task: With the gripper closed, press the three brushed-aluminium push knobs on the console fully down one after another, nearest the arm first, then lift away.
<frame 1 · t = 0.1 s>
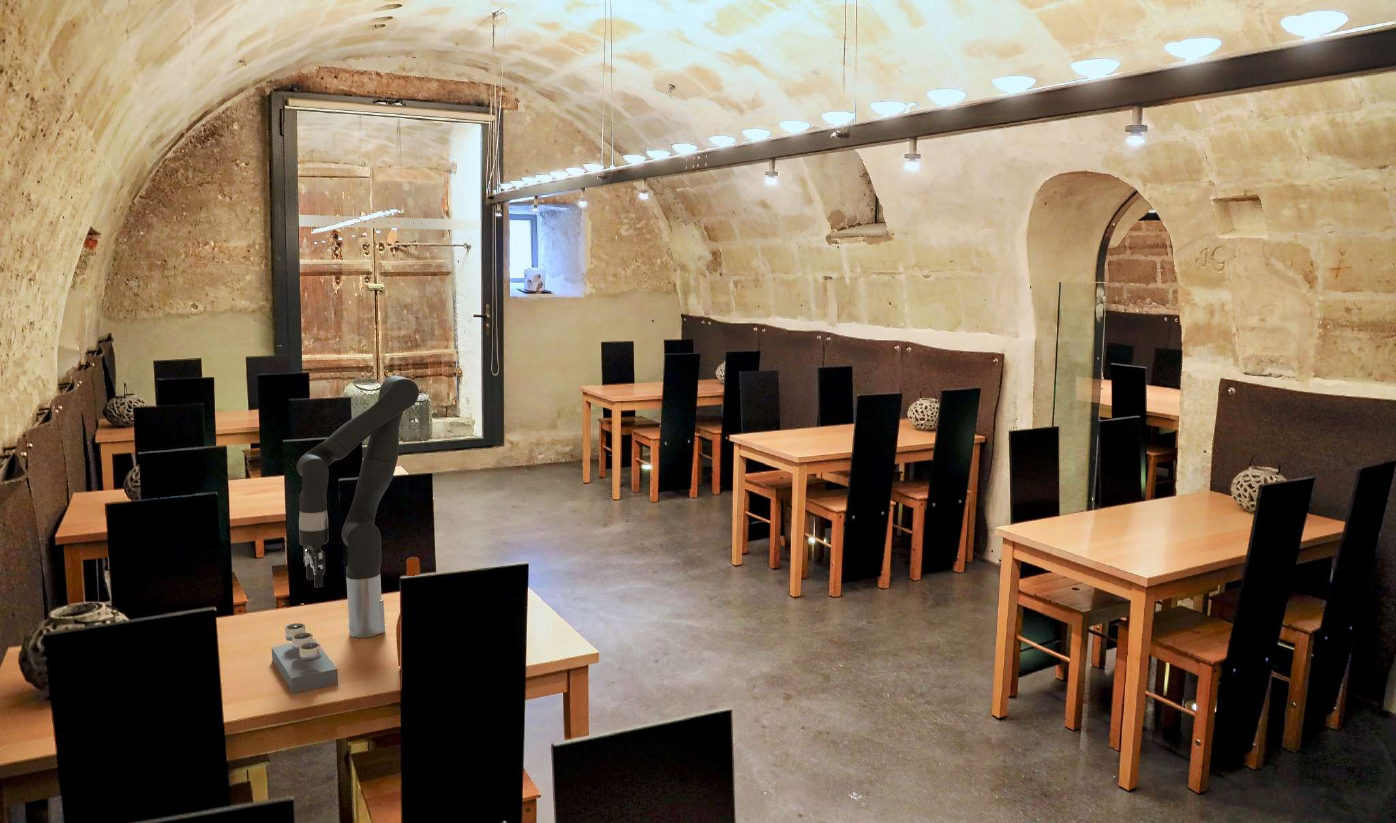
hand: (314, 583, 286), 17 cm above the table, tool pointing down, fingers open, 8 cm apart
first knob: (295, 631, 273), point 8 cm above the table, slide at 0.0 cm
console: (304, 672, 267), on the table
wine bottle: (417, 668, 270), on the table
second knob: (302, 641, 266), point 8 cm above the table, slide at 0.0 cm
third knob: (310, 651, 259), point 8 cm above the table, slide at 0.0 cm
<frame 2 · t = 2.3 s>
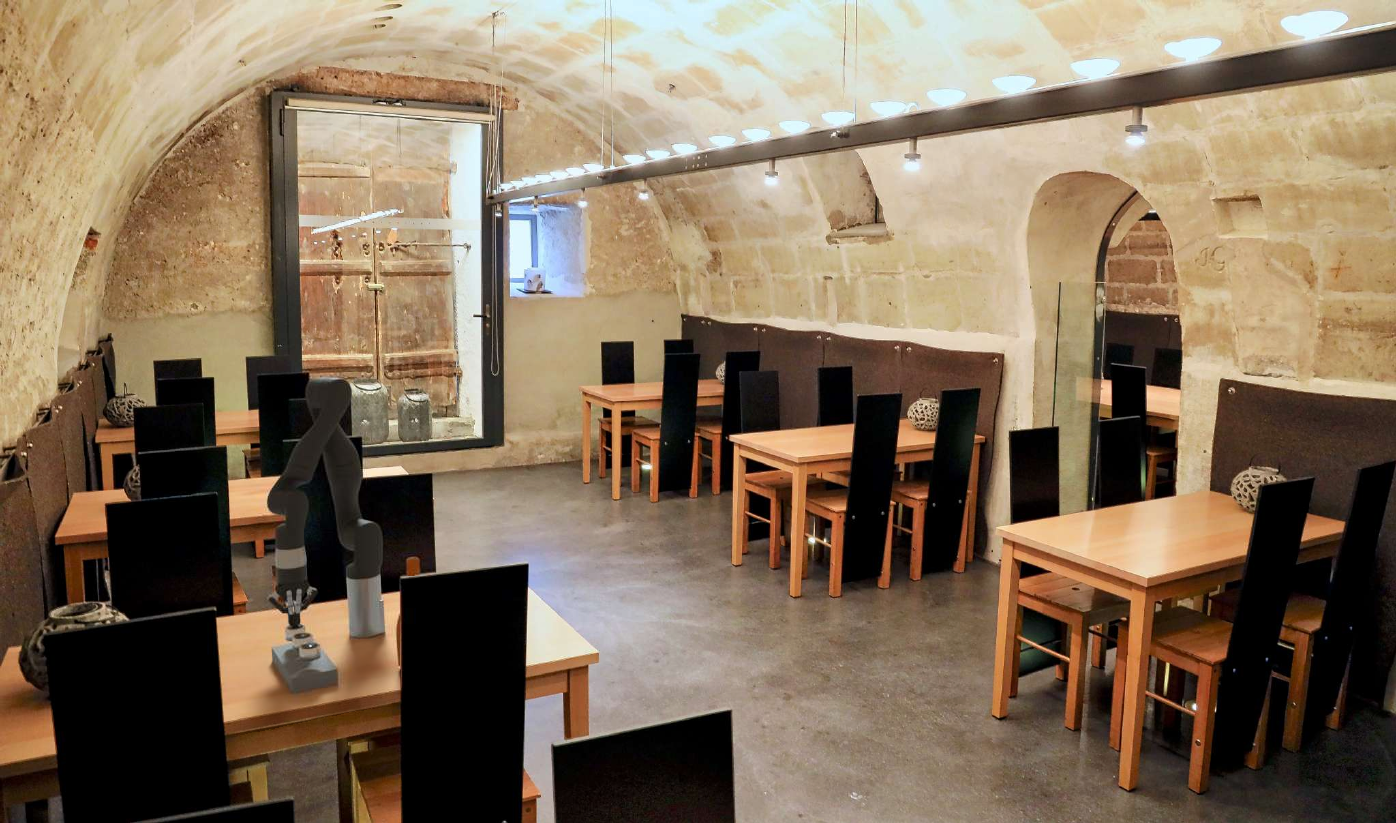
hand: (294, 626, 273), 10 cm above the table, tool pointing down, fingers closed
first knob: (295, 632, 273), point 8 cm above the table, slide at 0.2 cm, touching gripper
everything else where it was.
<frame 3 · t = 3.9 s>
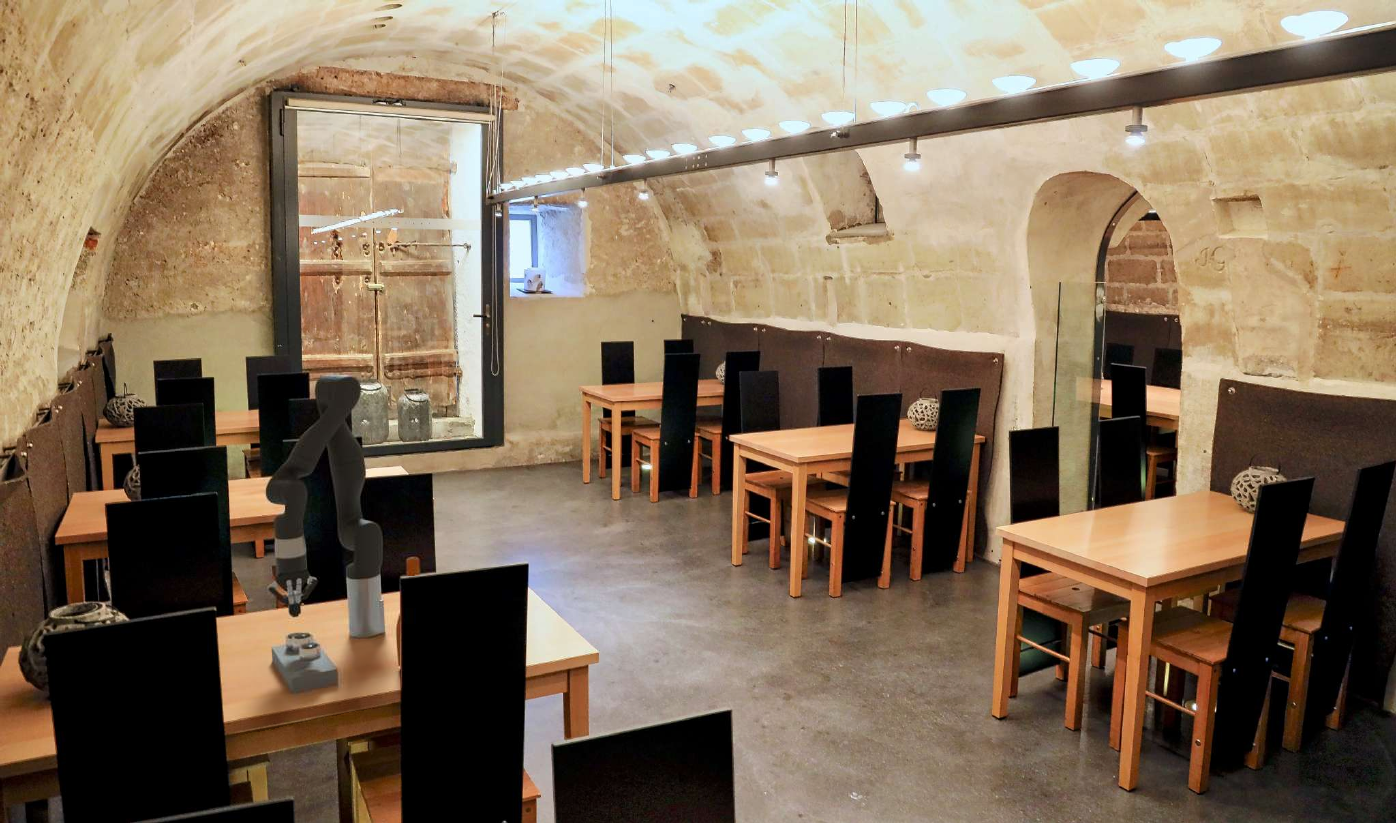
hand: (294, 616, 272), 13 cm above the table, tool pointing down, fingers closed
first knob: (295, 641, 274), point 6 cm above the table, slide at 2.6 cm
everything else where it was.
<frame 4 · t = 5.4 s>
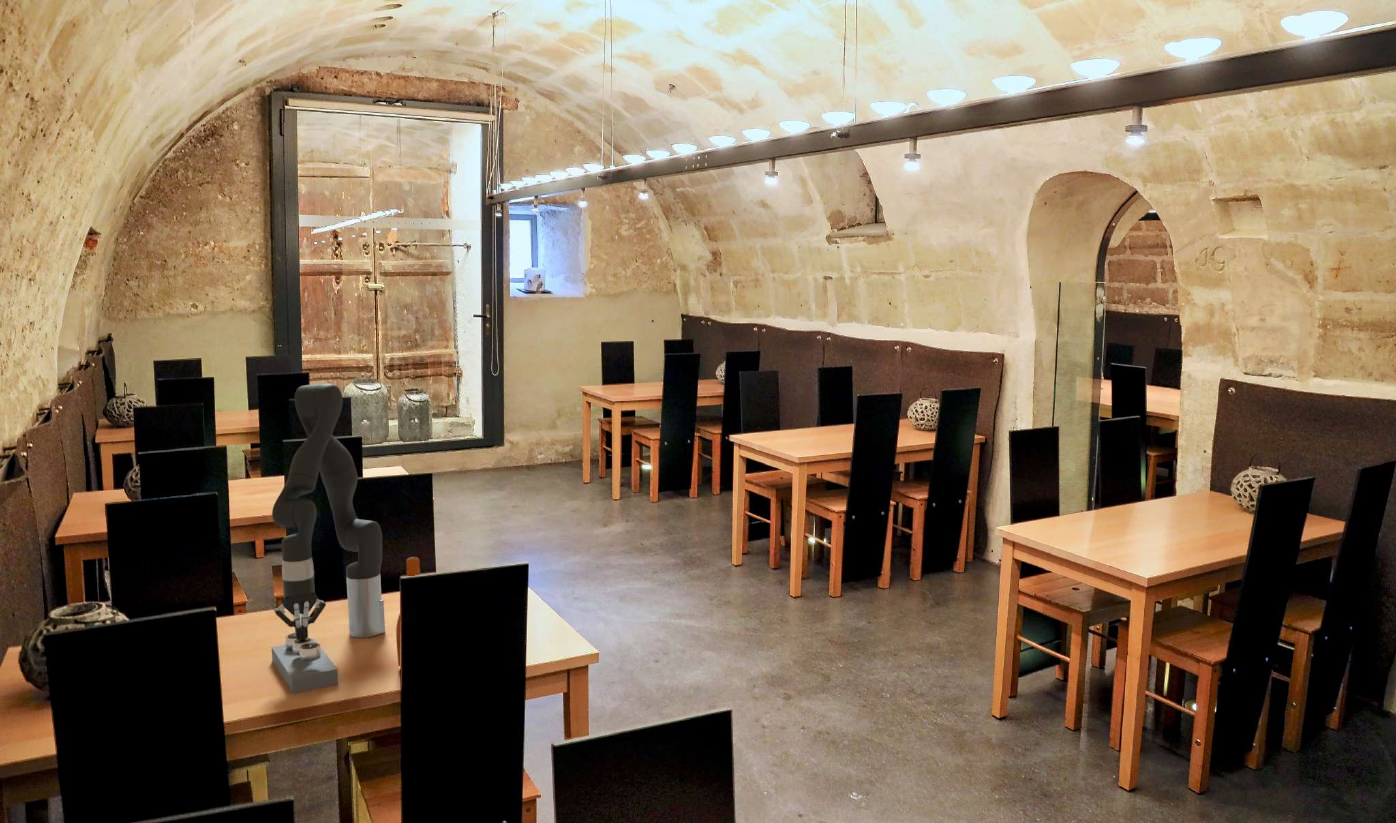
hand: (301, 640, 266), 9 cm above the table, tool pointing down, fingers closed
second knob: (302, 646, 266), point 7 cm above the table, slide at 1.3 cm, touching gripper
everything else where it was.
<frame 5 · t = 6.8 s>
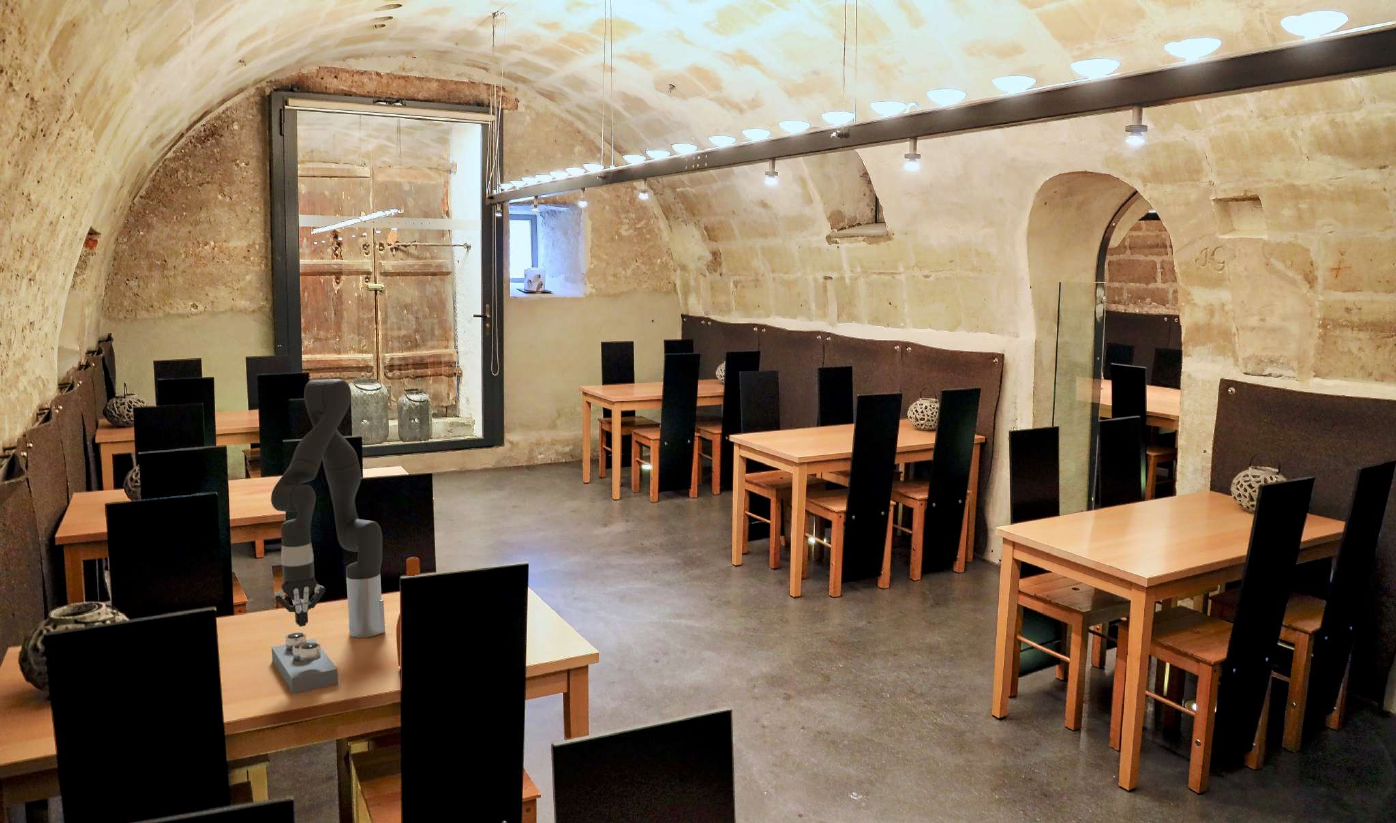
hand: (301, 625, 265), 13 cm above the table, tool pointing down, fingers closed
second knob: (303, 651, 267), point 6 cm above the table, slide at 2.6 cm
everything else where it was.
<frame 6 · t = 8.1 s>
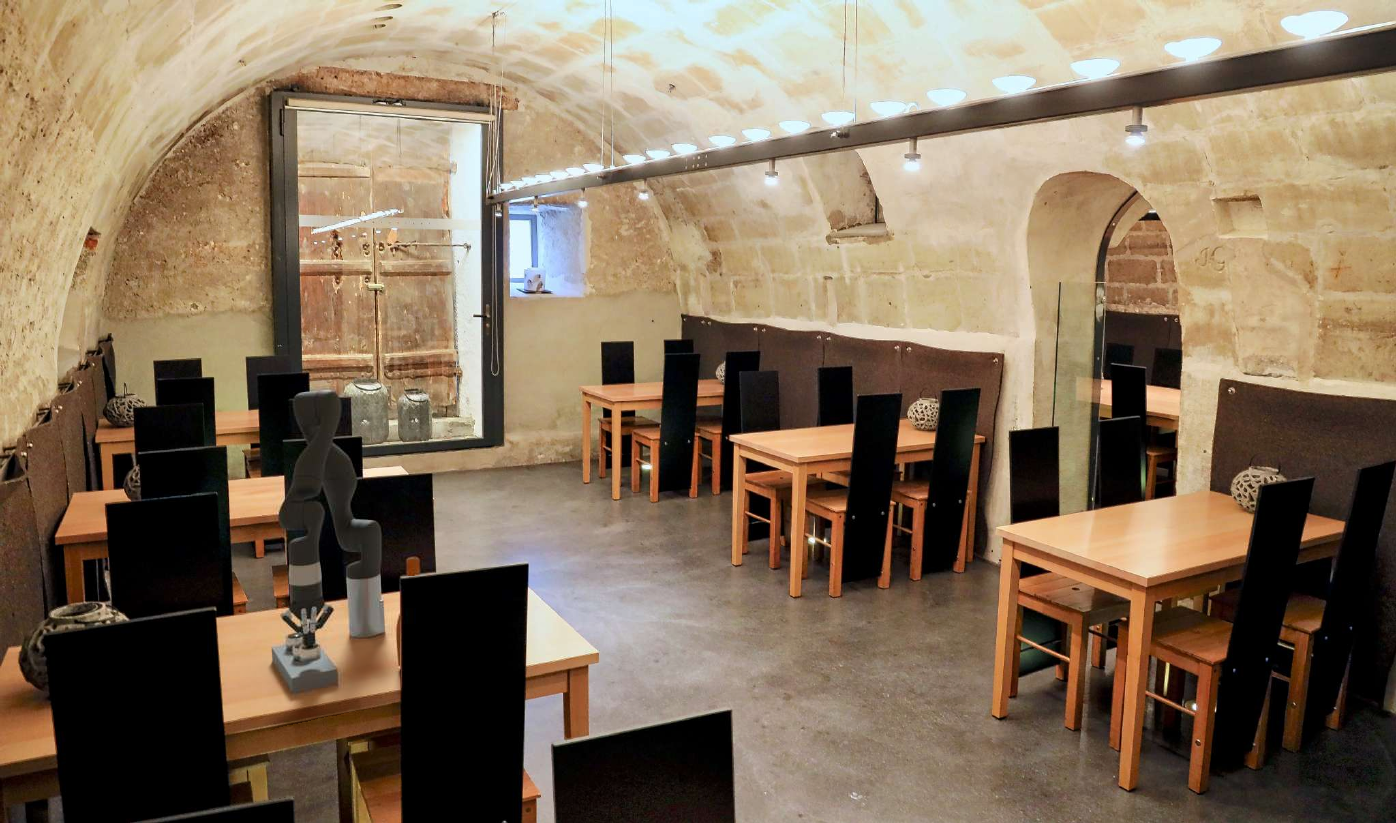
hand: (309, 646, 259), 10 cm above the table, tool pointing down, fingers closed
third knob: (310, 652, 259), point 8 cm above the table, slide at 0.2 cm, touching gripper
everything else where it was.
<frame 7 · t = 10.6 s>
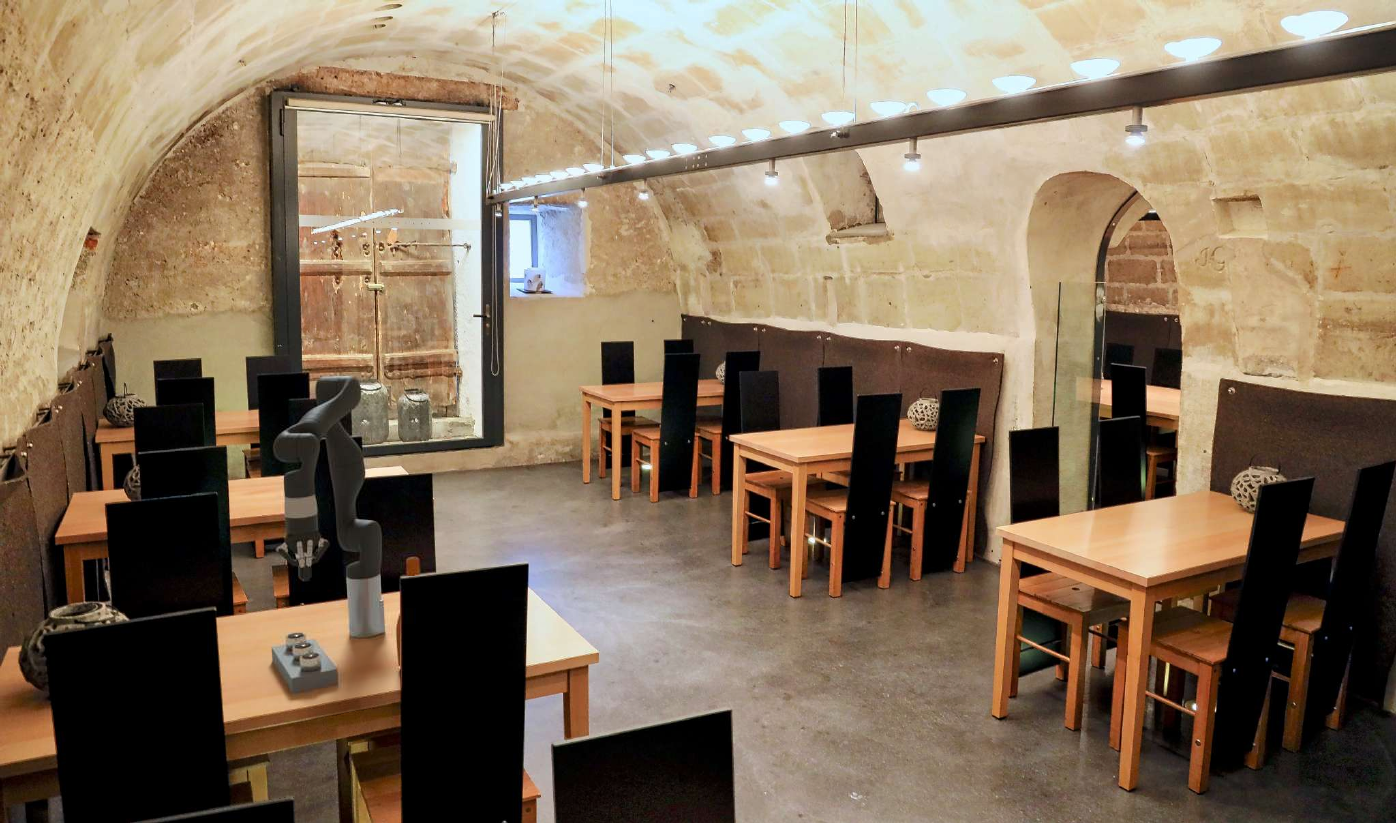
hand: (305, 580, 257), 27 cm above the table, tool pointing down, fingers closed
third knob: (310, 661, 260), point 6 cm above the table, slide at 2.6 cm
everything else where it was.
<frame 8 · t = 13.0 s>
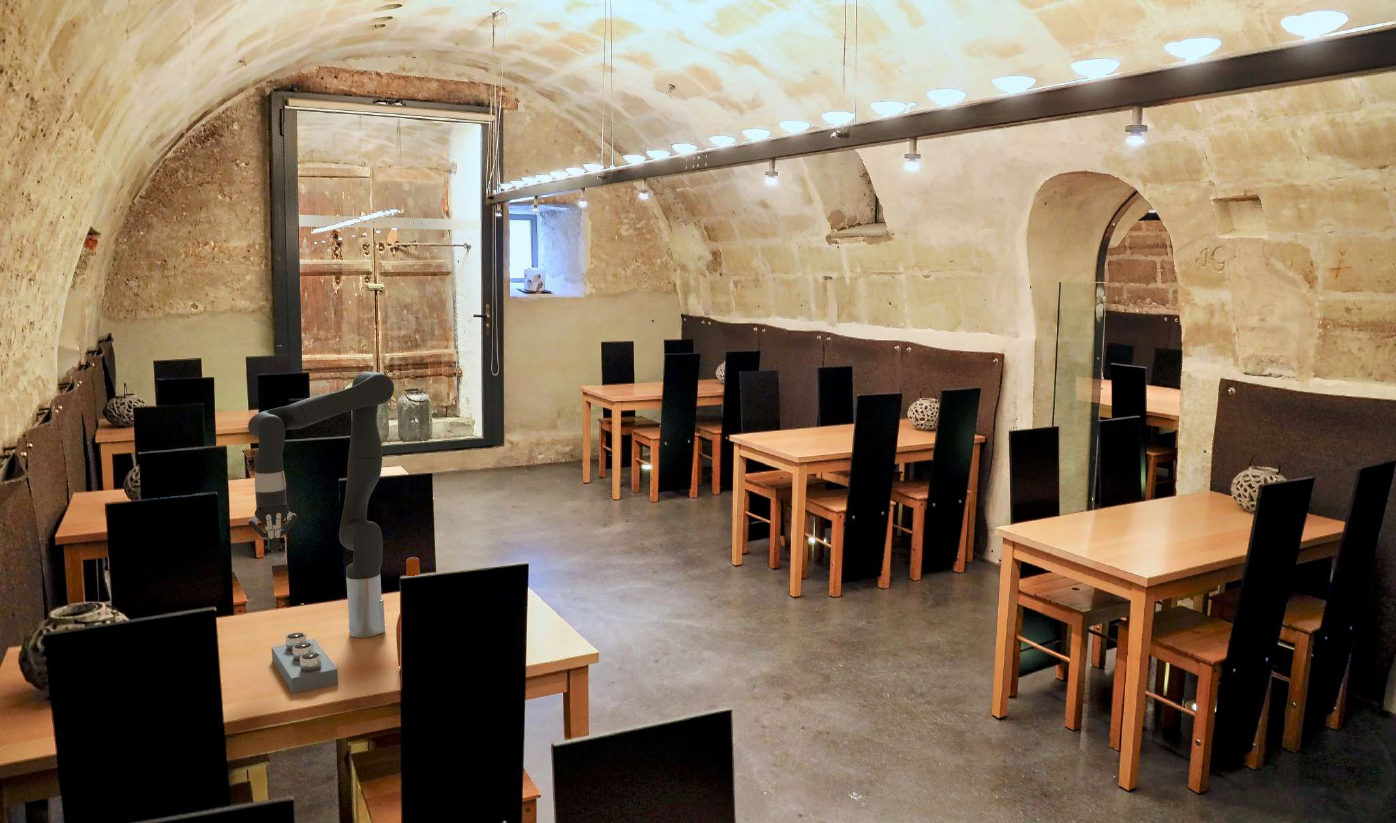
hand: (274, 551, 276), 29 cm above the table, tool pointing down, fingers closed
nothing on the table moved.
at the end: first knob slide at 2.6 cm; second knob slide at 2.6 cm; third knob slide at 2.6 cm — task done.
